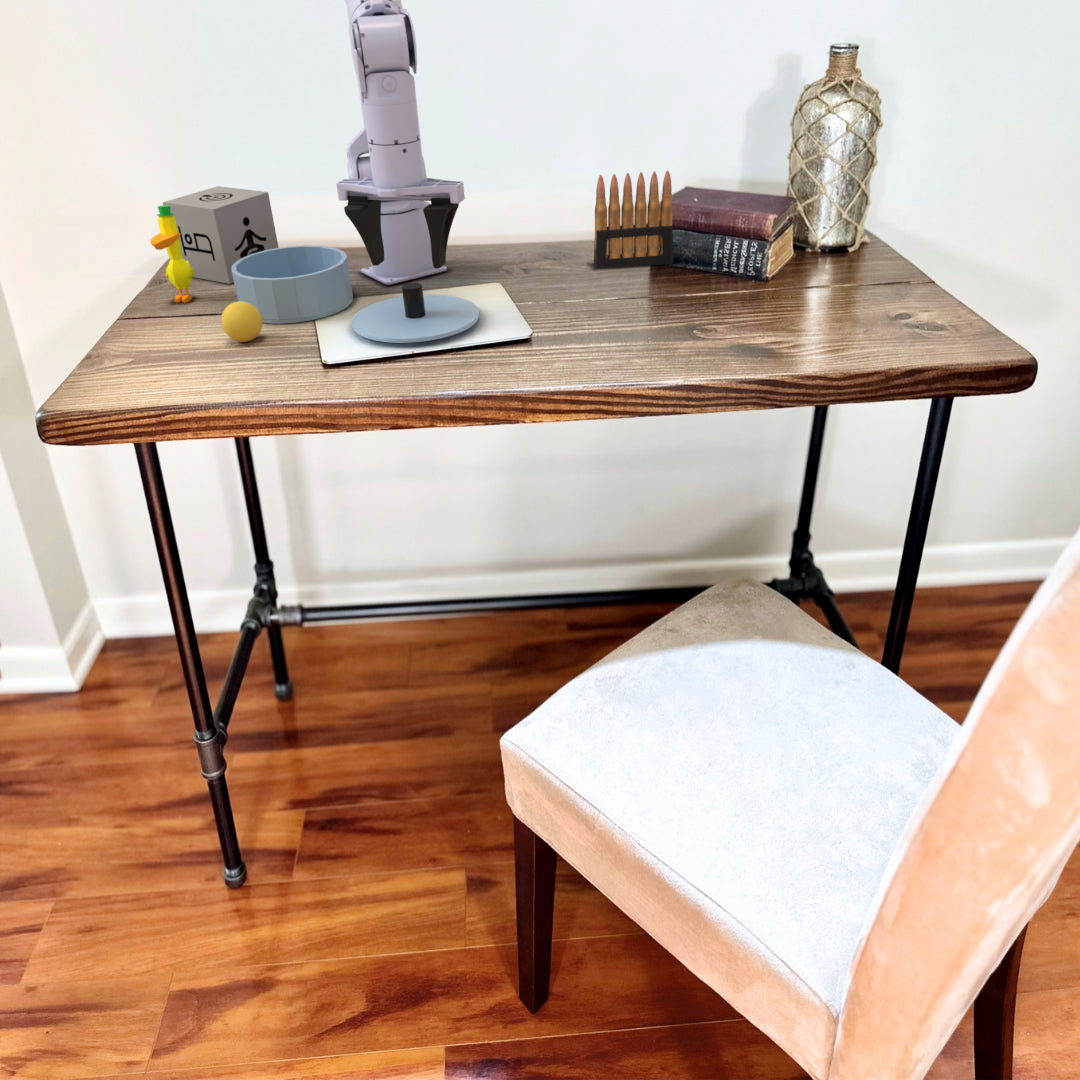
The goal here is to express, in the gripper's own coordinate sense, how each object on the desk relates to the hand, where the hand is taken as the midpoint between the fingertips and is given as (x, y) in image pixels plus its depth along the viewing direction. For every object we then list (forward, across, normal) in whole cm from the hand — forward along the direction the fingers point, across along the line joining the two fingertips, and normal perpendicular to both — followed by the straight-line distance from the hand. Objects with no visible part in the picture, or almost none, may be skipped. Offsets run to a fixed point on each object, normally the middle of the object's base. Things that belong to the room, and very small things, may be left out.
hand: (408, 264), depth 113 cm
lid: (+7, 0, 0) cm, 7 cm away
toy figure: (+7, -34, +4) cm, 35 cm away
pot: (+7, -18, +4) cm, 20 cm away
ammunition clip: (+7, +22, +26) cm, 35 cm away
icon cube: (+8, -35, +17) cm, 40 cm away
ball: (+5, -18, -8) cm, 21 cm away
